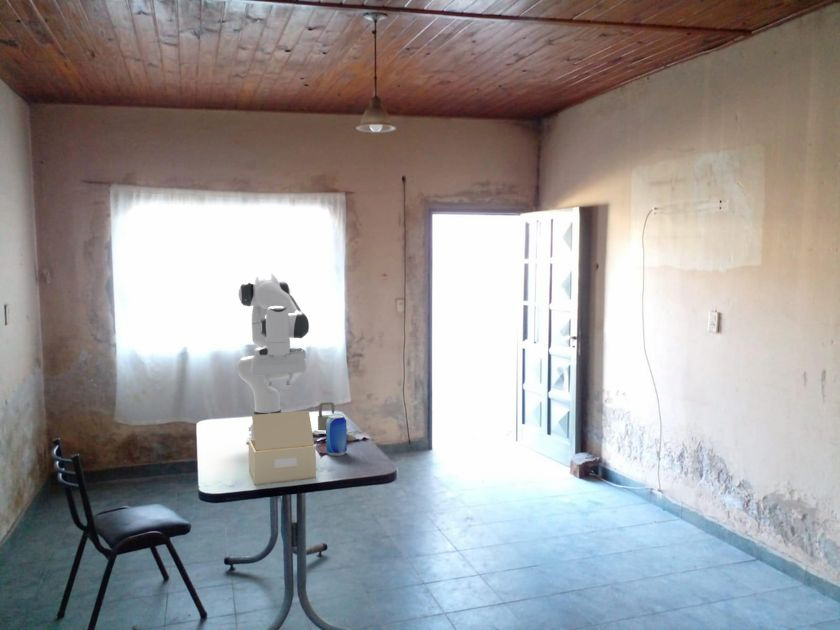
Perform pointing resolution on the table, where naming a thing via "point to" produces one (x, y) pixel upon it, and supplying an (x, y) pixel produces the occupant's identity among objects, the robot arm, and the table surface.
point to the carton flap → (282, 430)
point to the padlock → (323, 418)
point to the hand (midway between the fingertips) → (278, 385)
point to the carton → (282, 464)
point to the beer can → (336, 435)
